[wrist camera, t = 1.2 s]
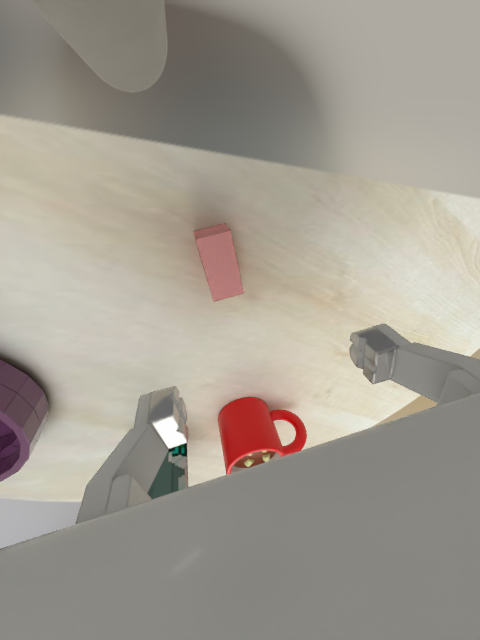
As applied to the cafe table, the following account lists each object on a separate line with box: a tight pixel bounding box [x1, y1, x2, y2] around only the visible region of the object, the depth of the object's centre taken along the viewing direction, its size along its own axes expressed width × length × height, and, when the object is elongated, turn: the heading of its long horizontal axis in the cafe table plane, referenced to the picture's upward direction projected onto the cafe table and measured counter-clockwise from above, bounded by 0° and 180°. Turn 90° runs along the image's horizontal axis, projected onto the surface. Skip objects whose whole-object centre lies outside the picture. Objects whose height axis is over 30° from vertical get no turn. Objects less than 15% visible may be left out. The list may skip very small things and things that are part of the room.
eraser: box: [194, 223, 244, 301], centre depth 24 cm, size 6×3×3 cm, turn 11°
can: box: [147, 443, 188, 499], centre depth 31 cm, size 6×6×15 cm
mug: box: [218, 397, 307, 475], centre depth 35 cm, size 8×12×8 cm, turn 97°
